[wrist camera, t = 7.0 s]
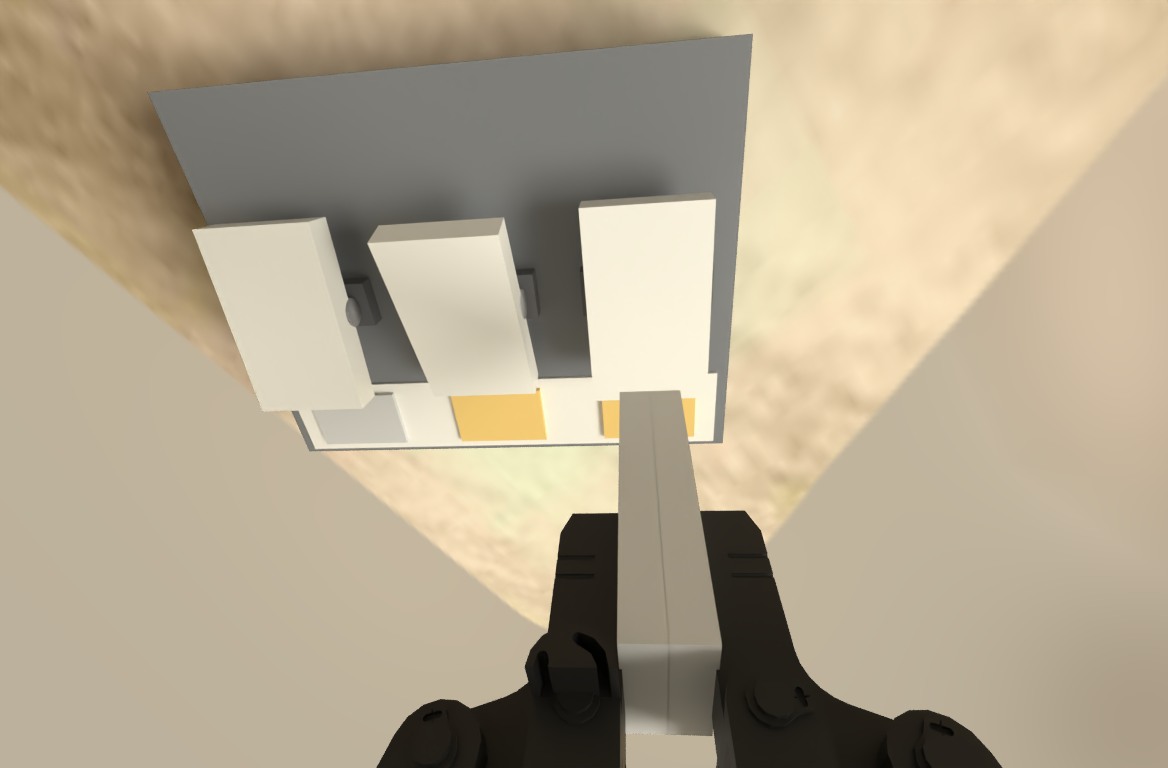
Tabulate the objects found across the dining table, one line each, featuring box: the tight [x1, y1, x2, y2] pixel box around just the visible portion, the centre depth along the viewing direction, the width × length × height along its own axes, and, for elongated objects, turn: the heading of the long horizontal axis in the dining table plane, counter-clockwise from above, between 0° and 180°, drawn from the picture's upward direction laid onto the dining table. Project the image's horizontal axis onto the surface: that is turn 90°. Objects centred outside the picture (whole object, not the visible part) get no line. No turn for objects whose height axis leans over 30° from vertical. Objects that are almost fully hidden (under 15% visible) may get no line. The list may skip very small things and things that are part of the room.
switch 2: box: [367, 217, 538, 397], centre depth 17 cm, size 6×4×2 cm, turn 5°
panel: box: [148, 34, 753, 451], centre depth 20 cm, size 14×18×5 cm
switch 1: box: [192, 217, 375, 412], centre depth 18 cm, size 6×4×2 cm, turn 4°
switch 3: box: [578, 192, 716, 401], centre depth 17 cm, size 6×4×2 cm, turn 4°
